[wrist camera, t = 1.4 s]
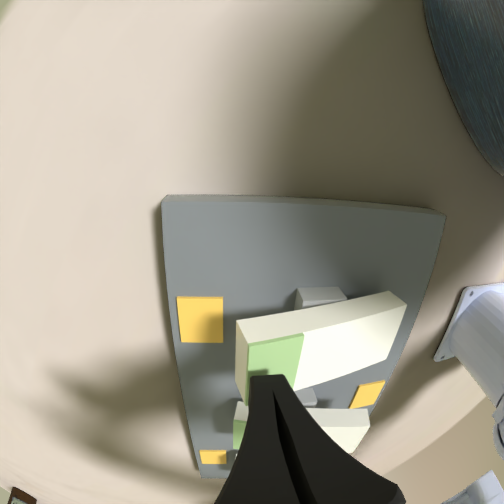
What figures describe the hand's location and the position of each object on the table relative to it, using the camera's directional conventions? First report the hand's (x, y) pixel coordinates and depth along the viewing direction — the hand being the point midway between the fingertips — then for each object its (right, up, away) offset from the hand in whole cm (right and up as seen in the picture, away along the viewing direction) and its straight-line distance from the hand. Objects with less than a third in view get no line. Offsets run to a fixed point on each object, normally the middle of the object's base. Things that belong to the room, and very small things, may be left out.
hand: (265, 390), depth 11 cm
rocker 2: (+3, -7, +6) cm, 10 cm away
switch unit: (+2, -5, +10) cm, 11 cm away
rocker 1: (+3, +1, +3) cm, 4 cm away
